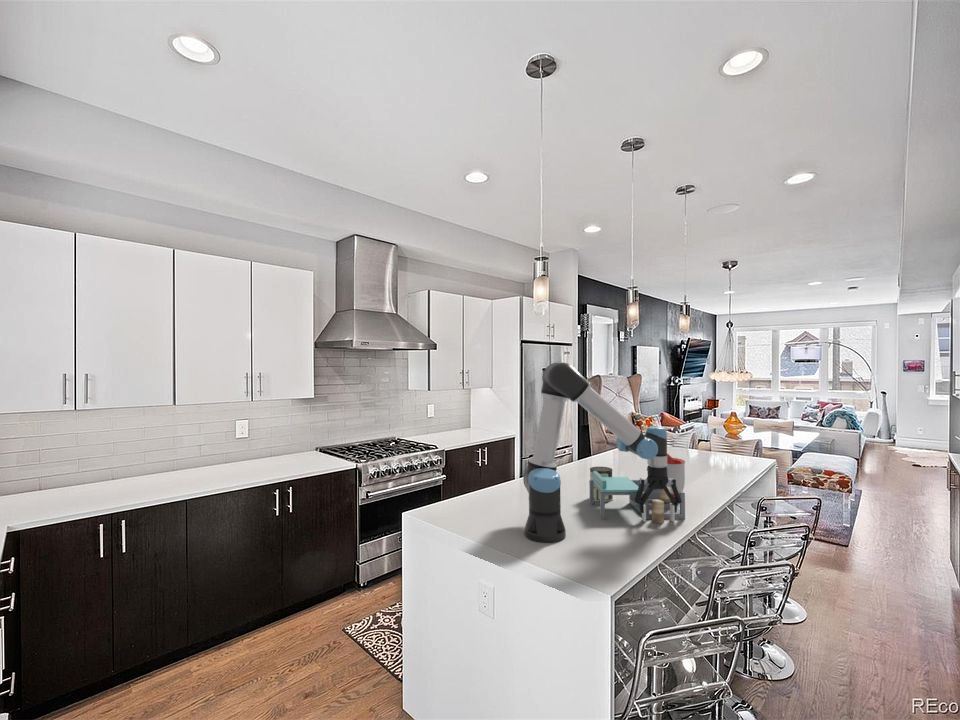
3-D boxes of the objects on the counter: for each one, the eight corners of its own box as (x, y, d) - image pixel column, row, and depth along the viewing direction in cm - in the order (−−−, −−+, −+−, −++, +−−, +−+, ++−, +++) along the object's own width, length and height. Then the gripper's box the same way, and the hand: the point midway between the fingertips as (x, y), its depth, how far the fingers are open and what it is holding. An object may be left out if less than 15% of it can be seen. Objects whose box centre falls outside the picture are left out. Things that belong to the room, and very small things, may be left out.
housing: (685, 518, 191) (684, 492, 191) (601, 519, 191) (600, 493, 191) (664, 502, 213) (664, 479, 213) (589, 503, 213) (589, 480, 213)
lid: (642, 492, 191) (642, 482, 191) (603, 492, 191) (603, 482, 191) (626, 479, 213) (626, 469, 213) (591, 479, 213) (591, 470, 213)
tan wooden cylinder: (672, 508, 198) (672, 489, 199) (661, 508, 199) (661, 489, 199) (668, 504, 203) (668, 486, 203) (658, 504, 203) (657, 486, 203)
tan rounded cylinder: (665, 523, 186) (665, 503, 186) (654, 523, 186) (654, 503, 186) (661, 519, 190) (661, 499, 190) (650, 519, 190) (650, 499, 190)
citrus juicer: (643, 490, 233) (642, 450, 233) (679, 491, 232) (678, 450, 232) (651, 499, 218) (651, 456, 218) (690, 500, 216) (689, 457, 216)
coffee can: (603, 494, 227) (603, 465, 227) (617, 500, 217) (617, 469, 217) (585, 497, 223) (585, 467, 223) (598, 503, 213) (598, 472, 214)
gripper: (682, 463, 192) (683, 517, 191) (625, 463, 192) (626, 517, 192) (690, 467, 184) (691, 523, 184) (631, 467, 185) (632, 524, 184)
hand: (658, 520), depth 188 cm, fingers open, 11 cm apart
